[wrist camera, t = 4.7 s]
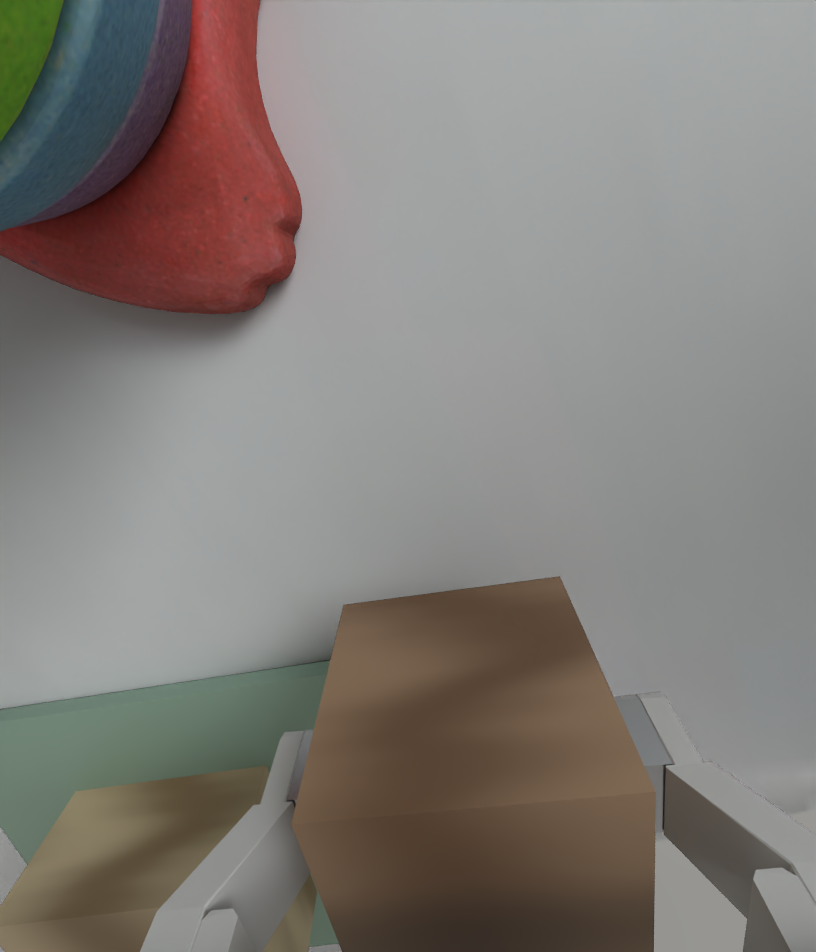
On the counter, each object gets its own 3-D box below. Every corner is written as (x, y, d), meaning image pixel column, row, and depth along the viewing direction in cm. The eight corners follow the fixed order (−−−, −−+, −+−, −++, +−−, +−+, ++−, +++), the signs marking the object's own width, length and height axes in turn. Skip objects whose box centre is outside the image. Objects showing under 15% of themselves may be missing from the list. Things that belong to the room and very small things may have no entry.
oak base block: (266, 765, 17) (227, 899, 13) (317, 891, 20) (295, 1034, 16) (75, 791, 18) (-14, 928, 14) (148, 911, 20) (88, 1055, 16)
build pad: (344, 658, 16) (342, 671, 16) (419, 917, 21) (420, 934, 21) (-52, 717, 17) (-67, 731, 17) (109, 952, 22) (101, 969, 22)
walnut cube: (559, 576, 11) (655, 791, 7) (571, 735, 13) (653, 991, 8) (343, 604, 12) (291, 824, 7) (384, 754, 14) (364, 1007, 9)
